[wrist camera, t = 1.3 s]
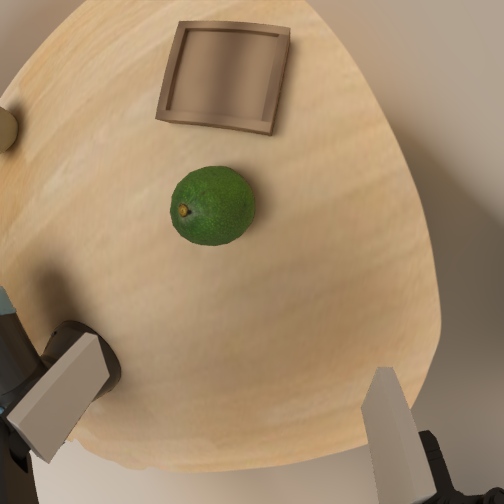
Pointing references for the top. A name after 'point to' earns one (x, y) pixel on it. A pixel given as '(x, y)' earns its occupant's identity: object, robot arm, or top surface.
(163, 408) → the top surface
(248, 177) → the top surface
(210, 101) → the base
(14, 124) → the grey bowl
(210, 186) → the avocado
